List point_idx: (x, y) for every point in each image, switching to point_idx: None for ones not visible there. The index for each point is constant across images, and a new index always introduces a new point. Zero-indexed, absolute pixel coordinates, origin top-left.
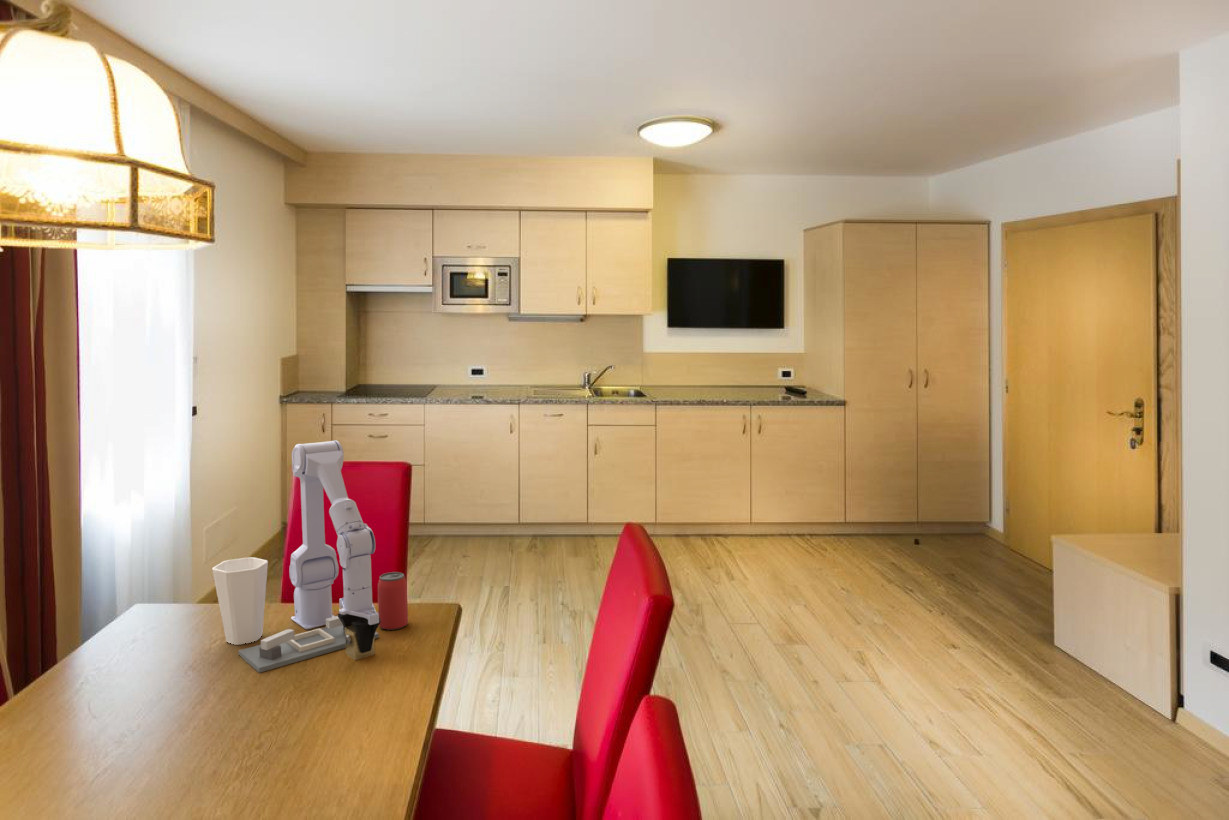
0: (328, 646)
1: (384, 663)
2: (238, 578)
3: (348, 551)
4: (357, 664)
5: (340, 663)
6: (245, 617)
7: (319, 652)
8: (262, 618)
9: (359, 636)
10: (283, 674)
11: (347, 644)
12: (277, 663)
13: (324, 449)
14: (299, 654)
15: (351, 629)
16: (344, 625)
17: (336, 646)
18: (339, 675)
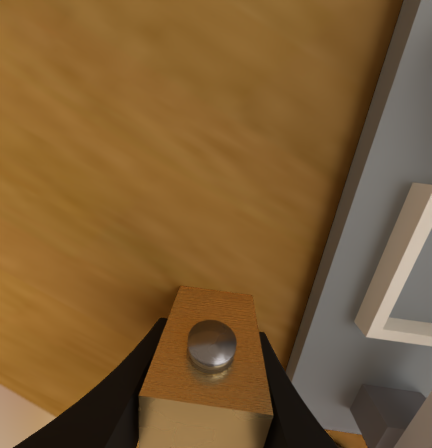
0: (340, 288)
1: (95, 321)
2: None
3: None
4: (145, 273)
5: (196, 244)
6: None
7: (333, 241)
8: None
9: (100, 383)
10: (292, 9)
11: (211, 320)
12: (411, 17)
13: None
14: (389, 165)
15: (204, 414)
16: (295, 428)
17: (315, 305)
18: (100, 185)
